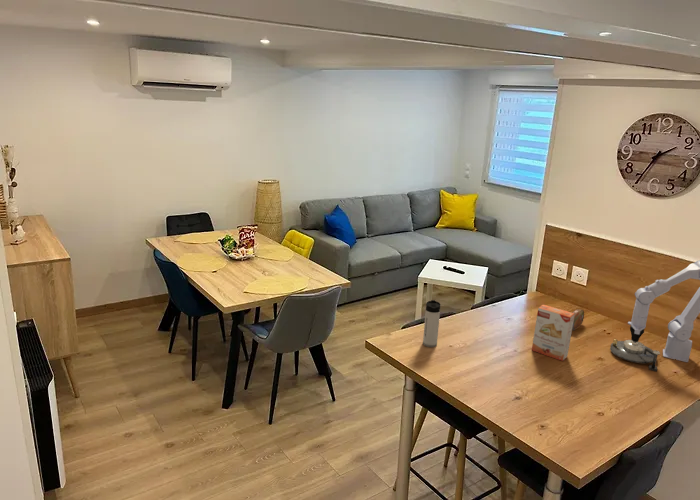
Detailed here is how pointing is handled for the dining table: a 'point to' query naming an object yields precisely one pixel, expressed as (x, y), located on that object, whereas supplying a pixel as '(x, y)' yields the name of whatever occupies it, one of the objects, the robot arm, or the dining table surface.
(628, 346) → the cover
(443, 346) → the dining table surface
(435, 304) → the travel mug
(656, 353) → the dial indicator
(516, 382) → the dining table surface
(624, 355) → the disc
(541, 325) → the cracker box
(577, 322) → the tin
